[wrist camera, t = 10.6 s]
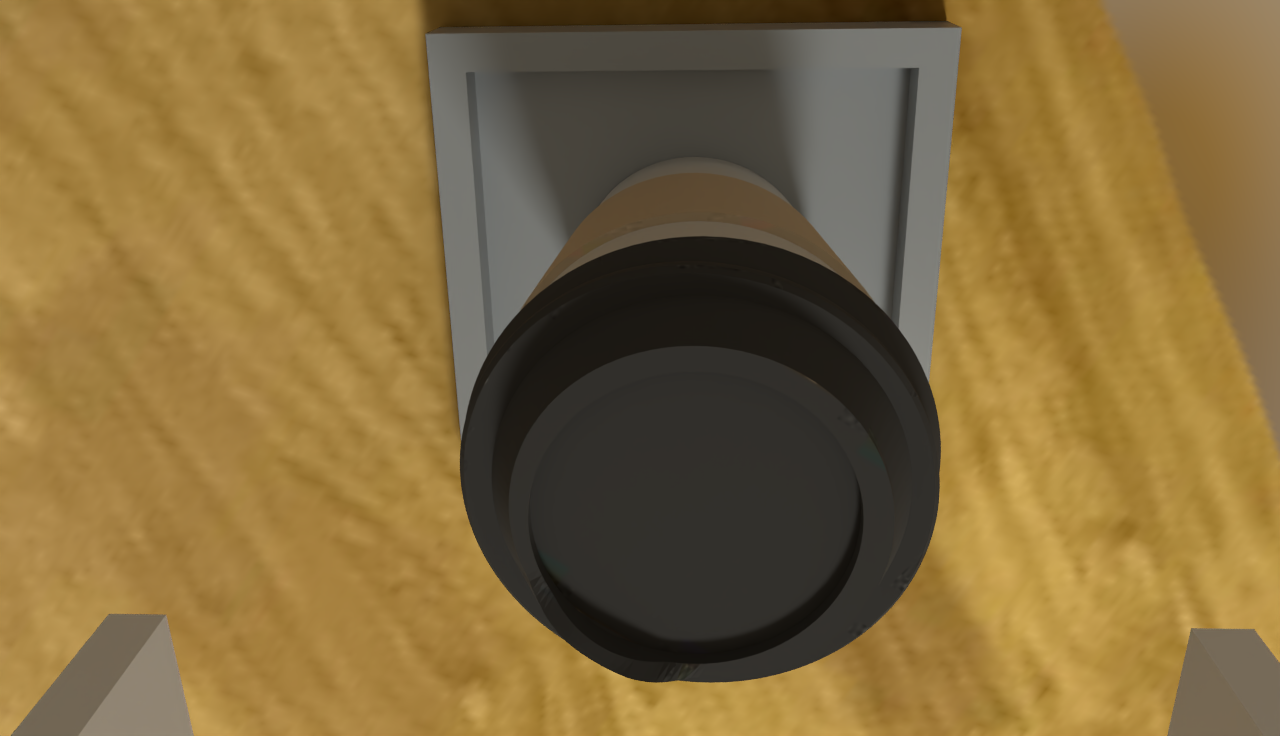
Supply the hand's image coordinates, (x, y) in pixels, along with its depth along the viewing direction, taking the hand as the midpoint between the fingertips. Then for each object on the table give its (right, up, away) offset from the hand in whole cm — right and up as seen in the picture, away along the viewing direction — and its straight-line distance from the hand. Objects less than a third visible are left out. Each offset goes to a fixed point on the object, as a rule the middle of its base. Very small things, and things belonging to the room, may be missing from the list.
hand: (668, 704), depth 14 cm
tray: (+1, +7, +19) cm, 20 cm away
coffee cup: (+1, +7, +18) cm, 20 cm away
